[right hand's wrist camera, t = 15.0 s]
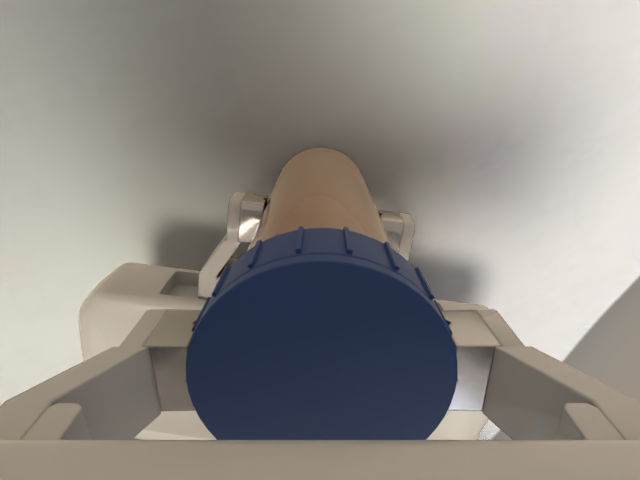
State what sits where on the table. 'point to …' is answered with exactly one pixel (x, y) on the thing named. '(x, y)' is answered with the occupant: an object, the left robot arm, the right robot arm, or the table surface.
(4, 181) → the table surface
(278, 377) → the lid
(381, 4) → the table surface
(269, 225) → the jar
